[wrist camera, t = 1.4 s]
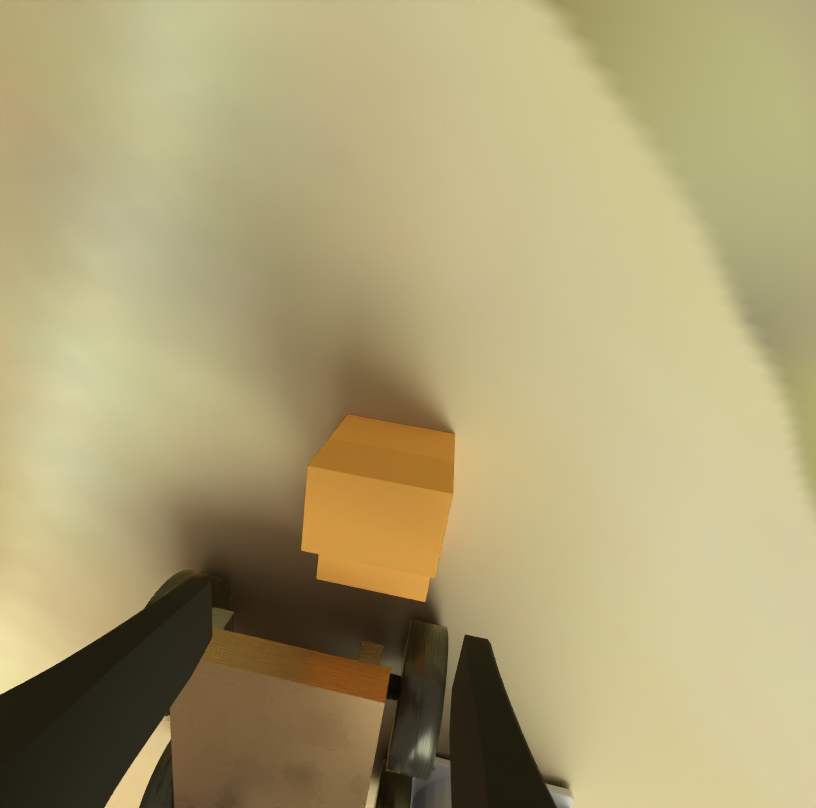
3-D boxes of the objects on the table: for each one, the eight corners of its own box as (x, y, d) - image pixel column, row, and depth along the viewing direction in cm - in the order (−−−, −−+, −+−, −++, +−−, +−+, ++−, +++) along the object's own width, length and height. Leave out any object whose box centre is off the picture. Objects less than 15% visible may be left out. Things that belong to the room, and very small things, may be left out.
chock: (455, 432, 19) (452, 494, 14) (430, 557, 21) (420, 651, 16) (348, 413, 19) (307, 465, 14) (335, 538, 22) (295, 623, 16)
